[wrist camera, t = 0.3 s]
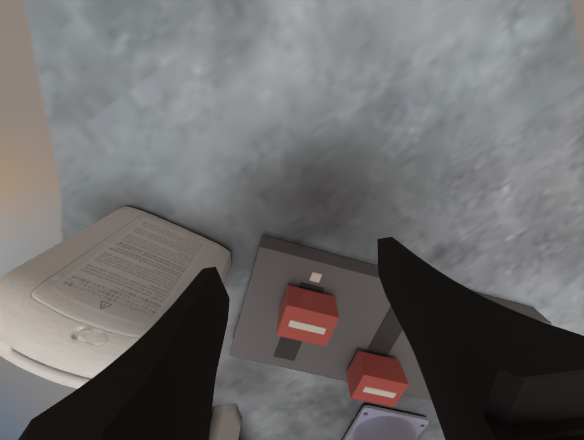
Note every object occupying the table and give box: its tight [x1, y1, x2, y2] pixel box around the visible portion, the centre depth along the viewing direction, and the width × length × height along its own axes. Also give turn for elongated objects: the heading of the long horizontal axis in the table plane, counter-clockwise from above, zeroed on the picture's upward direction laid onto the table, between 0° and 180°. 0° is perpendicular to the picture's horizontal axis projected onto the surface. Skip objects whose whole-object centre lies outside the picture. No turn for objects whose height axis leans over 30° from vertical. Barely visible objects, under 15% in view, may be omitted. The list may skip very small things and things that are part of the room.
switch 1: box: [276, 285, 339, 347], centre depth 22 cm, size 3×4×2 cm
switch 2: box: [346, 351, 409, 407], centre depth 24 cm, size 3×4×2 cm
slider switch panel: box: [229, 235, 552, 400], centre depth 26 cm, size 12×26×2 cm, turn 74°
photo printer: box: [0, 207, 231, 389], centre depth 18 cm, size 10×4×12 cm, turn 63°
